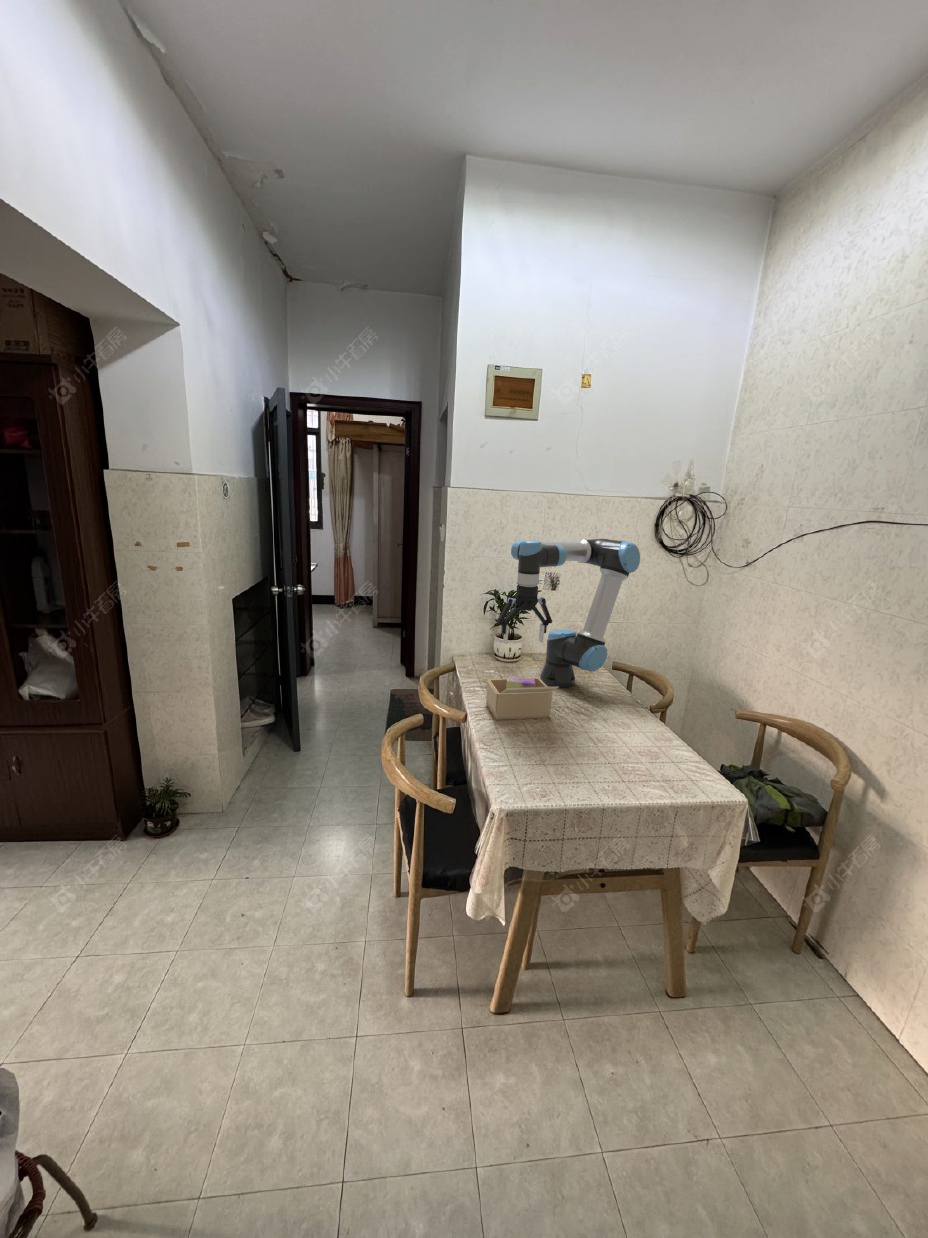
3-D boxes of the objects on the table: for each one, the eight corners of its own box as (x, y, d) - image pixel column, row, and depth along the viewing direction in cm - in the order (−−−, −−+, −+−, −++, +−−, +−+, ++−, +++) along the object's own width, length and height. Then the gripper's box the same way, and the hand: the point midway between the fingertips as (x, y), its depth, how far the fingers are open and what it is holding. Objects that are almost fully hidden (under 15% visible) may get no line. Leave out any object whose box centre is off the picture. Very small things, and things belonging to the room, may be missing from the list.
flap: (558, 686, 173) (559, 687, 173) (550, 690, 180) (550, 691, 180) (507, 688, 169) (507, 689, 169) (501, 692, 176) (501, 693, 176)
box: (531, 706, 190) (534, 677, 187) (532, 713, 185) (535, 683, 182) (504, 704, 191) (506, 675, 188) (504, 711, 185) (506, 681, 182)
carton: (537, 701, 197) (539, 677, 194) (550, 717, 183) (553, 692, 181) (485, 703, 192) (486, 679, 190) (495, 720, 179) (496, 694, 176)
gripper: (556, 582, 183) (551, 638, 188) (490, 582, 177) (487, 639, 183) (564, 586, 176) (559, 644, 181) (496, 586, 170) (493, 646, 176)
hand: (523, 642), depth 182 cm, fingers open, 13 cm apart
